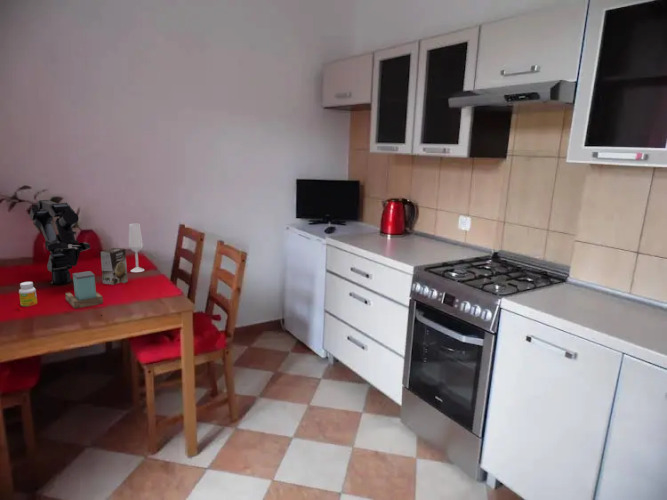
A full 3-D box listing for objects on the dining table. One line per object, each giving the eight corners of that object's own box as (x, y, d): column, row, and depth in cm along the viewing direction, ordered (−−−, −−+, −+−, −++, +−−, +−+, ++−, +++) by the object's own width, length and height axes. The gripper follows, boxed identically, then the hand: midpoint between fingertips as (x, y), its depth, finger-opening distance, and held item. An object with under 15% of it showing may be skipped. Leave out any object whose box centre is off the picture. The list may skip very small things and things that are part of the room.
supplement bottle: (20, 310, 167) (16, 286, 165) (22, 305, 172) (19, 281, 170) (36, 308, 170) (33, 284, 168) (38, 303, 175) (35, 280, 172)
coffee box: (115, 287, 197) (112, 252, 193) (102, 286, 198) (99, 251, 195) (128, 281, 206) (126, 248, 202) (116, 280, 207) (113, 247, 203)
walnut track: (64, 302, 177) (63, 293, 176) (94, 297, 184) (93, 288, 183) (74, 312, 167) (73, 302, 167) (104, 306, 175) (104, 296, 174)
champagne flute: (131, 272, 219) (127, 225, 214) (129, 269, 225) (126, 223, 219) (145, 271, 223) (142, 225, 217) (143, 268, 228) (140, 222, 223)
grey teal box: (75, 302, 174) (72, 273, 171) (92, 299, 178) (89, 270, 176) (79, 306, 170) (76, 277, 167) (97, 303, 174) (94, 274, 171)
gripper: (64, 237, 197) (73, 271, 197) (31, 235, 179) (40, 272, 178) (86, 230, 196) (95, 263, 195) (55, 227, 178) (65, 263, 177)
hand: (74, 265), depth 186 cm, fingers closed
